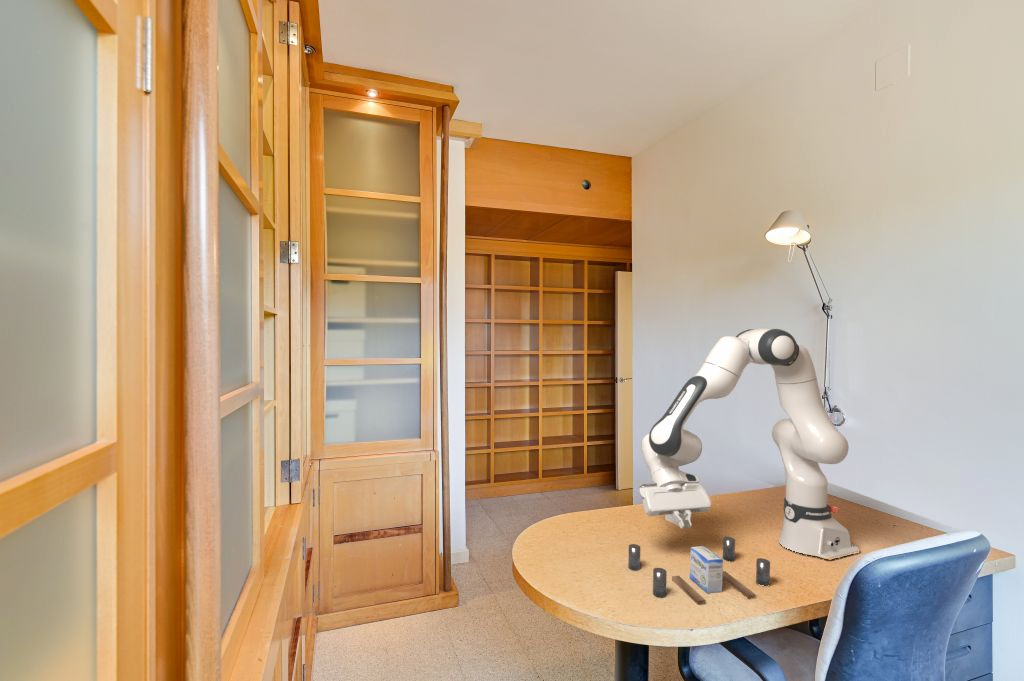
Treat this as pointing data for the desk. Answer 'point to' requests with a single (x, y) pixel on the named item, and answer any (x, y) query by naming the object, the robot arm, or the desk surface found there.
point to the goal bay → (700, 599)
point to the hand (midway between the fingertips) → (686, 527)
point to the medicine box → (706, 569)
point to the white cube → (669, 518)
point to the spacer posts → (728, 555)
